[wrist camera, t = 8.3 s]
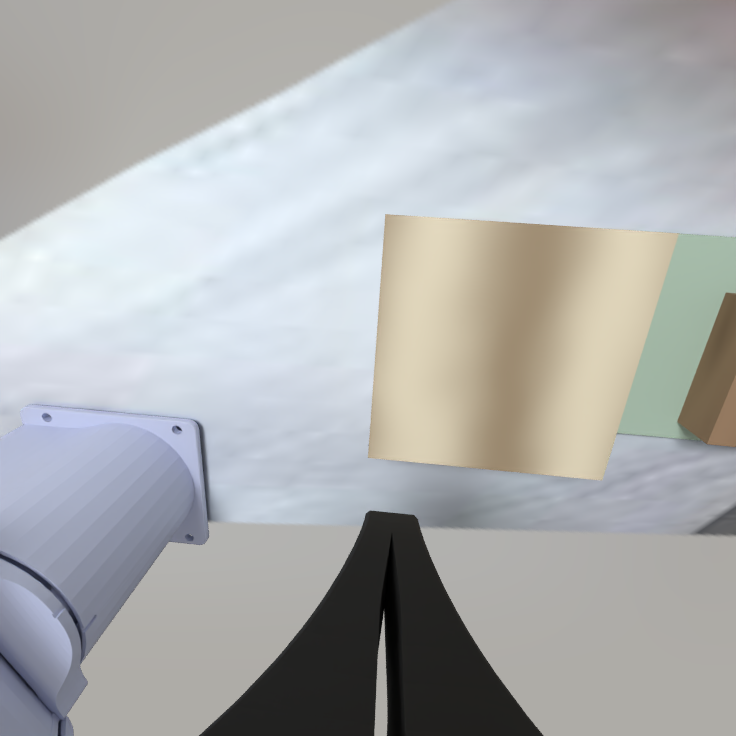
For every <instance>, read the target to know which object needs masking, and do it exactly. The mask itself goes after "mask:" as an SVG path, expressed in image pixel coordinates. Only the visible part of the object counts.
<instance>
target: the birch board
mask: <svg viewBox="0 0 736 736" xmlns="http://www.w3.org/2000/svg"><path fill="white" fill-rule="evenodd" d="M678 235H679V234H678V233H663V232H648V231H632V230H617V229H602V228H586V227H571V226H556V225H540V224H525V223H510V222H495V221H479V220H464V219H449V218H433V217H418V216H403V215H388V214H385V228H384V242H383V256H382V270H381V284H380V298H379V312H378V326H377V340H376V354H375V368H374V382H373V396H372V410H371V424H370V438H369V452H368V458H375V459H386V460H396V461H406V462H417V463H427V464H438V465H448V466H458V467H469V468H479V469H489V470H500V471H510V472H520V473H531V474H541V475H551V476H562V477H572V478H582V479H593V480H602V479H603V476H604V473H605V470H606V466H607V463H608V460H609V457H610V454H611V450H612V447H613V444H614V441H615V438H616V434H617V431H618V428H619V425H620V421H621V418H622V415H623V412H624V409H625V405H626V402H627V399H628V396H629V393H630V389H631V386H632V383H633V380H634V377H635V373H636V370H637V367H638V364H639V360H640V357H641V354H642V351H643V348H644V344H645V341H646V338H647V335H648V332H649V328H650V325H651V322H652V319H653V315H654V312H655V309H656V306H657V303H658V299H659V296H660V293H661V290H662V287H663V283H664V280H665V277H666V274H667V271H668V267H669V264H670V261H671V258H672V254H673V251H674V248H675V245H676V242H677V238H678Z"/></svg>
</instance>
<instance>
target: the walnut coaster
mask: <svg viewBox="0 0 736 736" xmlns="http://www.w3.org/2000/svg"><path fill="white" fill-rule="evenodd" d="M677 422H678V423H679V424H681V425H682V426H683V427H685V428H686V429H687V430H689V431H690V432H691V433H693V434H694V435H695V436H697V437H698V438H699V439H701V440H702V441H703V442H705V443H706V444H711V445H721V446H731V447H736V293H725V296H724V299H723V301H722V304H721V307H720V309H719V312H718V315H717V317H716V320H715V323H714V325H713V328H712V331H711V333H710V336H709V338H708V341H707V344H706V346H705V349H704V352H703V354H702V357H701V360H700V362H699V365H698V368H697V370H696V373H695V376H694V378H693V381H692V383H691V386H690V389H689V391H688V394H687V397H686V399H685V402H684V405H683V407H682V410H681V413H680V415H679V418H678V421H677Z"/></svg>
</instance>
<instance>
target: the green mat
mask: <svg viewBox="0 0 736 736" xmlns="http://www.w3.org/2000/svg"><path fill="white" fill-rule="evenodd" d="M725 293H736V237H722V236H707V235H691V234H679V235H678V238H677V242H676V245H675V248H674V251H673V254H672V258H671V261H670V264H669V267H668V271H667V274H666V277H665V280H664V283H663V287H662V290H661V293H660V296H659V299H658V303H657V306H656V309H655V312H654V315H653V319H652V322H651V325H650V328H649V332H648V335H647V338H646V341H645V344H644V348H643V351H642V354H641V357H640V360H639V364H638V367H637V370H636V373H635V377H634V380H633V383H632V386H631V389H630V393H629V396H628V399H627V402H626V405H625V409H624V412H623V415H622V418H621V421H620V425H619V428H618V431H617V433H622V434H633V435H644V436H655V437H667V438H678V439H689V440H700V441H702V440H701V439H699V438H698V437H697V436H695V435H694V434H693V433H691V432H690V431H689V430H687V429H686V428H685V427H683V426H682V425H681V424H679V423H678V422H677V421H678V418H679V415H680V413H681V410H682V407H683V405H684V402H685V399H686V397H687V394H688V391H689V389H690V386H691V383H692V381H693V378H694V376H695V373H696V370H697V368H698V365H699V362H700V360H701V357H702V354H703V352H704V349H705V346H706V344H707V341H708V338H709V336H710V333H711V331H712V328H713V325H714V323H715V320H716V317H717V315H718V312H719V309H720V307H721V304H722V301H723V299H724V296H725Z"/></svg>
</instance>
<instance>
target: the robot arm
mask: <svg viewBox="0 0 736 736" xmlns="http://www.w3.org/2000/svg"><path fill="white" fill-rule="evenodd" d="M48 414H49V415H50V416H51V417H50V416H49V415H48ZM20 415H21V419H22V423H23V425H22V426H20V427H18V428H17V429H15V430H13V431H11V432H9V433H8V434H6V435H4V436H2V437H0V736H74V732H73V726H72V724H71V722H70V720H69V718H68V717H67V716H66V715H67V714H68V712H69V711H70V709H71V708H72V706H73V705H74V703H75V702H76V700H77V699H78V698H79V696H80V695H81V693H82V692H83V690H84V688H85V687H86V686H87V684H88V681H87V680H86V678H85V677H84V675H83V673H82V671H81V668H80V664H81V663H82V661H83V660H84V659H85V657H86V656H87V655H88V653H89V652H90V650H91V649H92V648H93V646H94V645H95V644H96V642H97V641H98V639H99V638H100V636H101V635H102V634H103V632H104V631H105V629H106V628H107V627H108V625H109V624H110V623H111V621H112V620H113V618H114V617H115V616H116V614H117V613H118V612H119V610H120V609H121V607H122V606H123V605H124V603H125V602H126V600H127V599H128V598H129V596H130V595H131V593H132V592H133V591H134V589H135V588H136V586H137V585H138V583H139V582H140V581H141V579H142V578H143V577H144V575H145V574H146V573H147V571H148V570H149V568H150V567H151V566H152V564H153V563H154V561H155V560H156V559H157V557H158V556H159V554H160V553H161V552H162V550H163V549H164V547H165V546H166V545H167V543H168V542H178V543H187V544H196V545H202V544H205V542H206V541H207V539H208V538H209V530H208V519H207V509H206V498H205V488H204V477H203V466H202V456H201V445H200V434H199V427H198V425H197V423H196V422H194V421H193V420H190V419H182V418H171V417H161V416H150V415H139V414H129V413H118V412H107V411H97V410H86V409H75V408H65V407H54V406H43V405H33V404H32V405H27V406H25V407H24V408H22V409H21V411H20ZM176 425H177V426H179V427H180V428H181V429H182V431H180V430H178V429H177V428H176ZM189 534H191V535H192V536H191V535H189ZM383 613H384V615H385V616H384V617H385V646H386V669H387V670H386V673H387V698H388V699H387V700H388V703H387V704H388V705H387V707H388V724H387V736H543V735H542V733H541V732H540V731H539V730H538V728H537V727H536V726H535V725H534V724H533V722H532V721H531V720H530V719H529V717H528V716H527V715H526V714H525V712H524V711H523V710H522V708H521V707H520V705H519V704H518V703H517V701H516V700H515V699H514V698H513V696H512V695H511V693H510V692H509V691H508V689H507V688H506V687H505V685H504V684H503V683H502V681H501V680H500V679H499V677H498V676H497V675H496V673H495V672H494V670H493V669H492V667H491V666H490V664H489V663H488V661H487V660H486V658H485V657H484V655H483V654H482V652H481V651H480V649H479V648H478V646H477V644H476V643H475V641H474V640H473V638H472V636H471V635H470V633H469V632H468V630H467V628H466V627H465V625H464V623H463V621H462V620H461V618H460V616H459V614H458V613H457V611H456V609H455V607H454V605H453V603H452V601H451V599H450V598H449V596H448V594H447V592H446V590H445V588H444V586H443V584H442V582H441V579H440V577H439V575H438V573H437V571H436V569H435V566H434V564H433V562H432V560H431V557H430V555H429V552H428V550H427V547H426V545H425V542H424V539H423V536H422V533H421V530H420V526H419V523H418V519H417V518H416V517H415V515H408V514H398V513H388V512H379V511H369V512H368V513H366V516H365V520H364V523H363V526H362V529H361V531H360V534H359V536H358V538H357V540H356V542H355V545H354V547H353V549H352V551H351V553H350V555H349V556H348V558H347V560H346V562H345V564H344V566H343V568H342V569H341V571H340V573H339V574H338V576H337V578H336V579H335V581H334V582H333V584H332V586H331V587H330V589H329V590H328V592H327V594H326V595H325V597H324V598H323V600H322V601H321V603H320V604H319V606H318V607H317V608H316V610H315V611H314V613H313V614H312V615H311V617H310V618H309V619H308V621H307V622H306V623H305V625H304V626H303V628H302V629H301V630H300V631H299V632H298V633H297V635H296V636H295V637H294V639H293V640H292V641H291V642H290V643H289V645H288V646H287V647H286V648H285V650H284V651H283V652H282V653H281V654H280V655H279V656H278V658H277V659H276V660H275V661H274V662H273V663H272V664H271V665H270V666H269V668H268V669H267V670H266V671H265V672H264V673H263V674H262V675H261V676H260V677H259V678H258V679H257V680H256V681H255V683H253V685H252V686H251V687H250V688H249V689H248V690H247V691H246V692H245V693H244V694H243V695H242V696H241V697H240V698H239V699H238V700H237V701H236V702H235V703H234V704H233V705H232V706H231V707H230V708H229V709H227V710H226V712H224V713H223V714H222V715H221V716H220V717H219V718H218V719H217V720H216V721H214V723H212V724H211V725H210V726H209V727H208V728H207V729H206V730H205V731H204V732H203V733H202V734H200V735H199V736H374V726H375V702H376V701H375V700H376V679H377V657H378V648H379V641H380V634H381V627H382V620H383Z"/></svg>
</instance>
